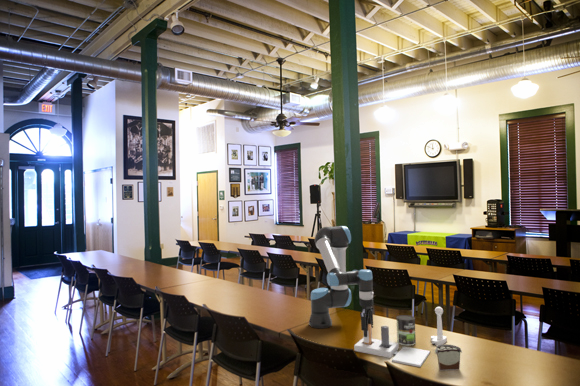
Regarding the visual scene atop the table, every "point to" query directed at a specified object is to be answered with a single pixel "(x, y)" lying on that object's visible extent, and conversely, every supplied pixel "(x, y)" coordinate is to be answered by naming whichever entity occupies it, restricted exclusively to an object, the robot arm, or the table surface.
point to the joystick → (439, 329)
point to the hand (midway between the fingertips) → (368, 340)
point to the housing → (376, 348)
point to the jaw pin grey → (385, 336)
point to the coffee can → (406, 330)
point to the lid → (411, 356)
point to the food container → (448, 357)
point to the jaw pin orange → (369, 335)
